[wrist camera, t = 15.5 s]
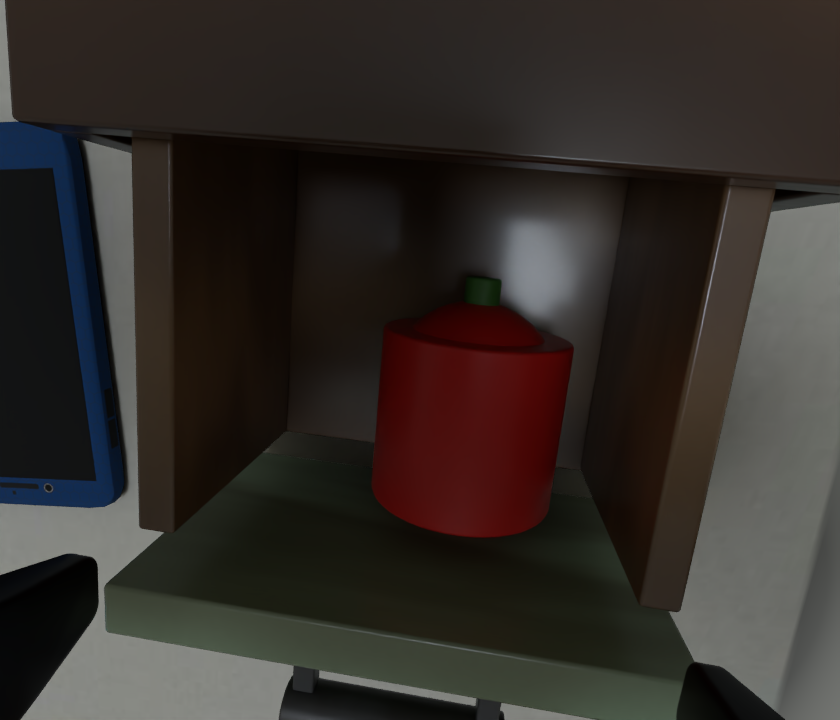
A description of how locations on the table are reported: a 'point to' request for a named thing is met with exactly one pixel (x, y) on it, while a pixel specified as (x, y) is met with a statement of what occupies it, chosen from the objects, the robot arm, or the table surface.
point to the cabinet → (454, 82)
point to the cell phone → (52, 331)
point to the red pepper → (469, 417)
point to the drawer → (357, 412)
